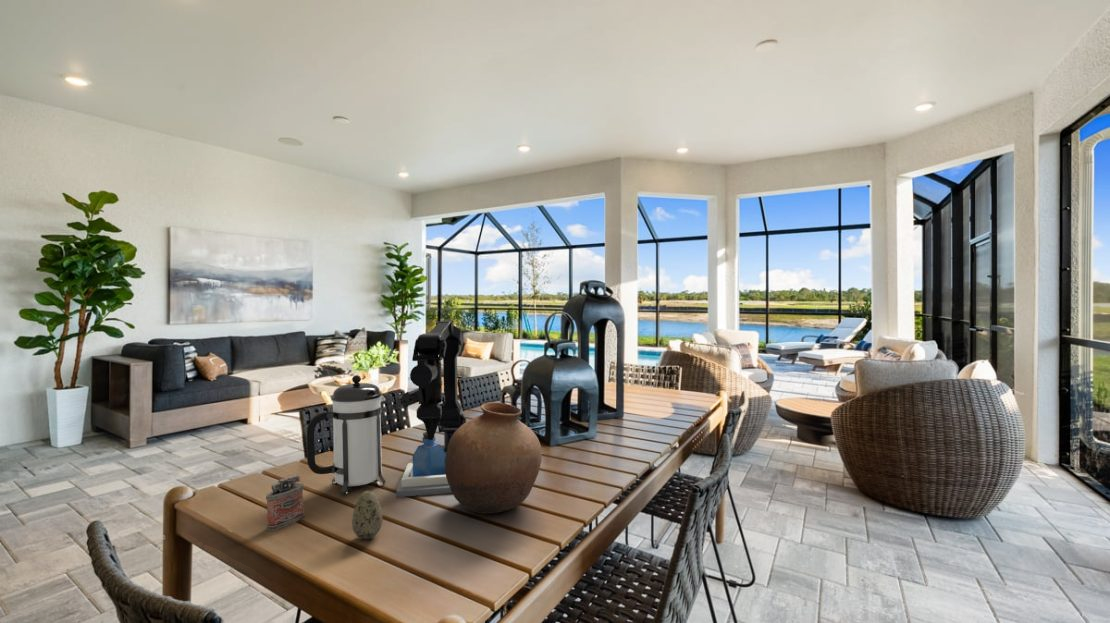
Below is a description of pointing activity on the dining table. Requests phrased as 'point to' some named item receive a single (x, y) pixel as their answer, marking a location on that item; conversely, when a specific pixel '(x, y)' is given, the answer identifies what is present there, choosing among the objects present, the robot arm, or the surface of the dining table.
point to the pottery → (493, 460)
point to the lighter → (285, 503)
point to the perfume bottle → (428, 458)
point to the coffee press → (352, 435)
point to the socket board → (421, 484)
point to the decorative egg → (367, 516)
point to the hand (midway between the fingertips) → (432, 434)
